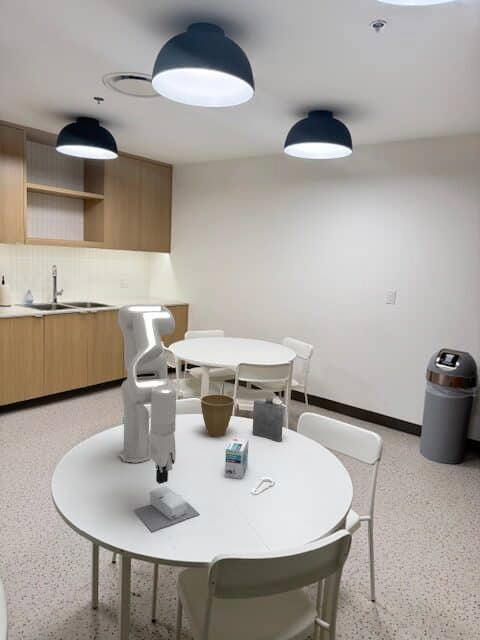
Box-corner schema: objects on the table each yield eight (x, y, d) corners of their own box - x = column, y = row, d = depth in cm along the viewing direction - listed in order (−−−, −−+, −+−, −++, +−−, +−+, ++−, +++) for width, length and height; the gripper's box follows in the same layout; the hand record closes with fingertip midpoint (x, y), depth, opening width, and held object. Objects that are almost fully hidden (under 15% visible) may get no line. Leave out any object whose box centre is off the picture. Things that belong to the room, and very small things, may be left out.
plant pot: (232, 441, 193) (234, 405, 191) (198, 439, 193) (199, 404, 191) (233, 427, 208) (234, 394, 206) (201, 426, 208) (202, 393, 206)
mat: (133, 510, 139) (133, 509, 139) (179, 495, 149) (179, 494, 149) (151, 532, 129) (151, 531, 129) (199, 515, 138) (199, 513, 138)
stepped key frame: (263, 500, 150) (263, 496, 149) (249, 497, 152) (250, 492, 151) (277, 481, 161) (277, 477, 161) (264, 478, 163) (264, 473, 163)
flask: (255, 432, 204) (257, 394, 201) (283, 440, 197) (285, 400, 194) (251, 434, 201) (252, 396, 198) (279, 442, 194) (282, 402, 191)
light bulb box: (242, 479, 161) (243, 451, 159) (224, 477, 162) (225, 449, 161) (247, 466, 171) (249, 439, 170) (230, 463, 173) (231, 437, 171)
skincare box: (165, 484, 146) (187, 499, 138) (165, 497, 147) (187, 512, 138) (148, 491, 142) (171, 506, 134) (149, 504, 143) (171, 520, 134)
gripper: (141, 420, 141) (140, 474, 144) (163, 437, 129) (162, 496, 132) (162, 415, 145) (162, 468, 148) (185, 432, 134) (184, 489, 137)
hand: (162, 481), depth 140 cm, fingers closed
